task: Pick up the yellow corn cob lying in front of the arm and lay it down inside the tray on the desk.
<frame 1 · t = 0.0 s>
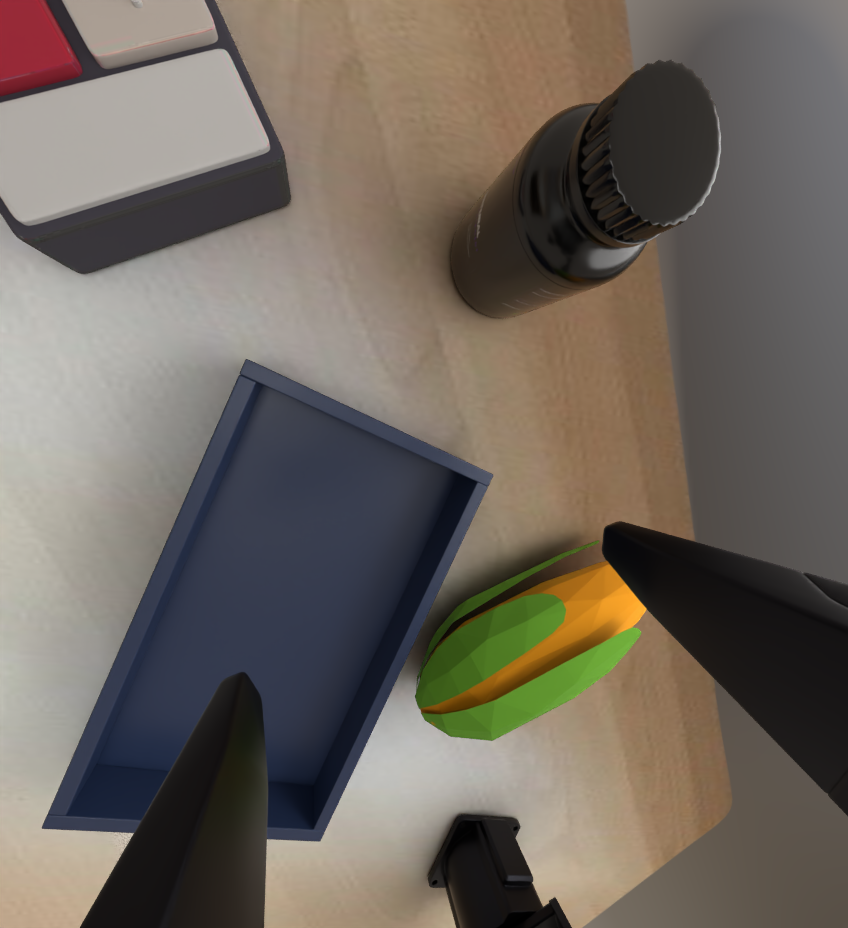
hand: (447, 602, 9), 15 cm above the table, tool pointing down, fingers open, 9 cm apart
supplement bottle: (495, 266, 23), on the table
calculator: (100, 68, 17), on the table
tray: (292, 602, 23), on the table
corn: (518, 597, 29), on the table
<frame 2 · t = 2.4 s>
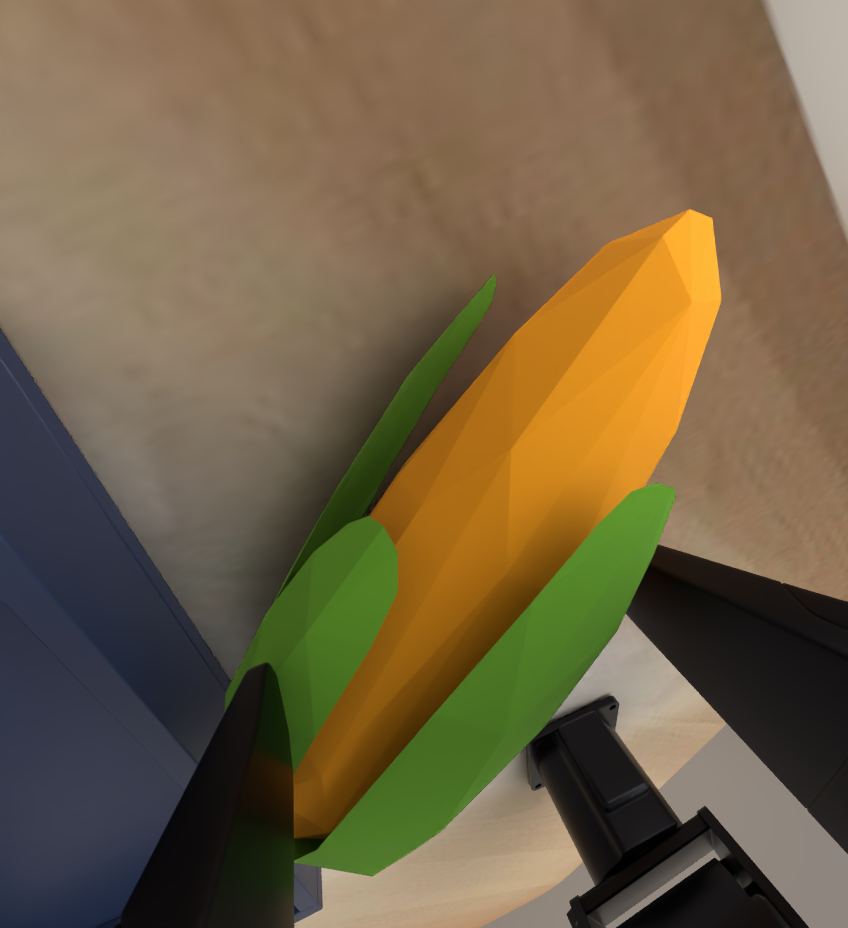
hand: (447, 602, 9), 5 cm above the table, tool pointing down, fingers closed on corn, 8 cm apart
corn: (419, 496, 13), on the table, touching gripper
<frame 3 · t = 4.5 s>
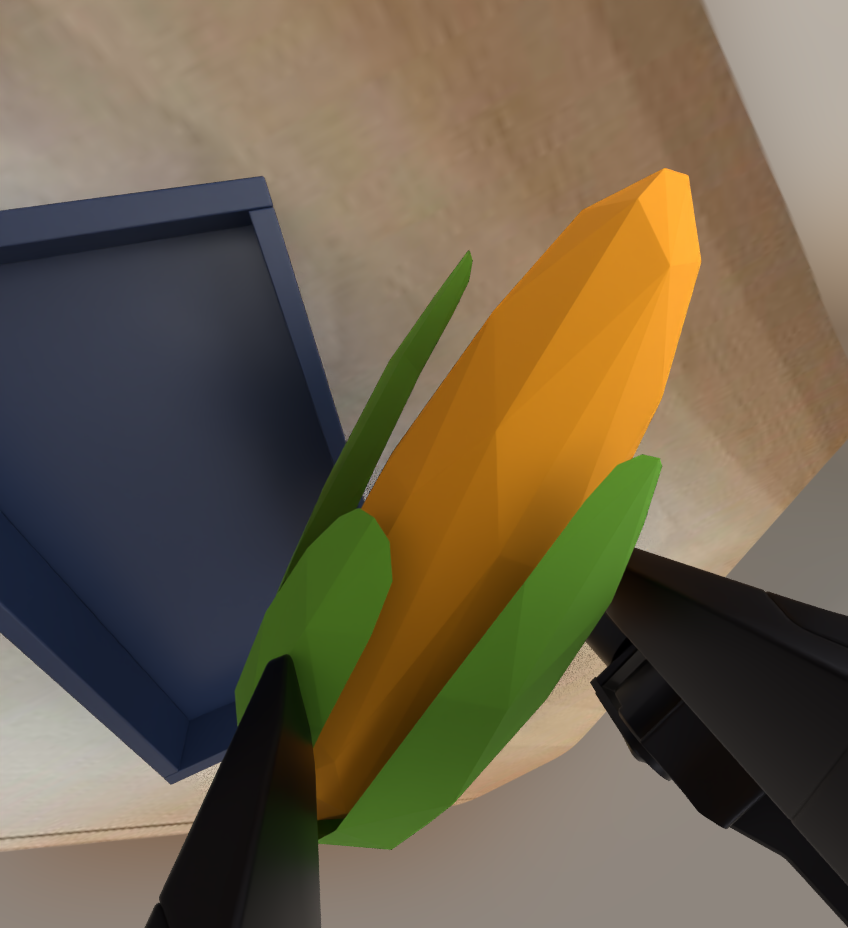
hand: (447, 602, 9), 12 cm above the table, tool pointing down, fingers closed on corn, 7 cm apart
tray: (216, 524, 19), on the table
corn: (411, 482, 13), point 7 cm above the table, touching gripper
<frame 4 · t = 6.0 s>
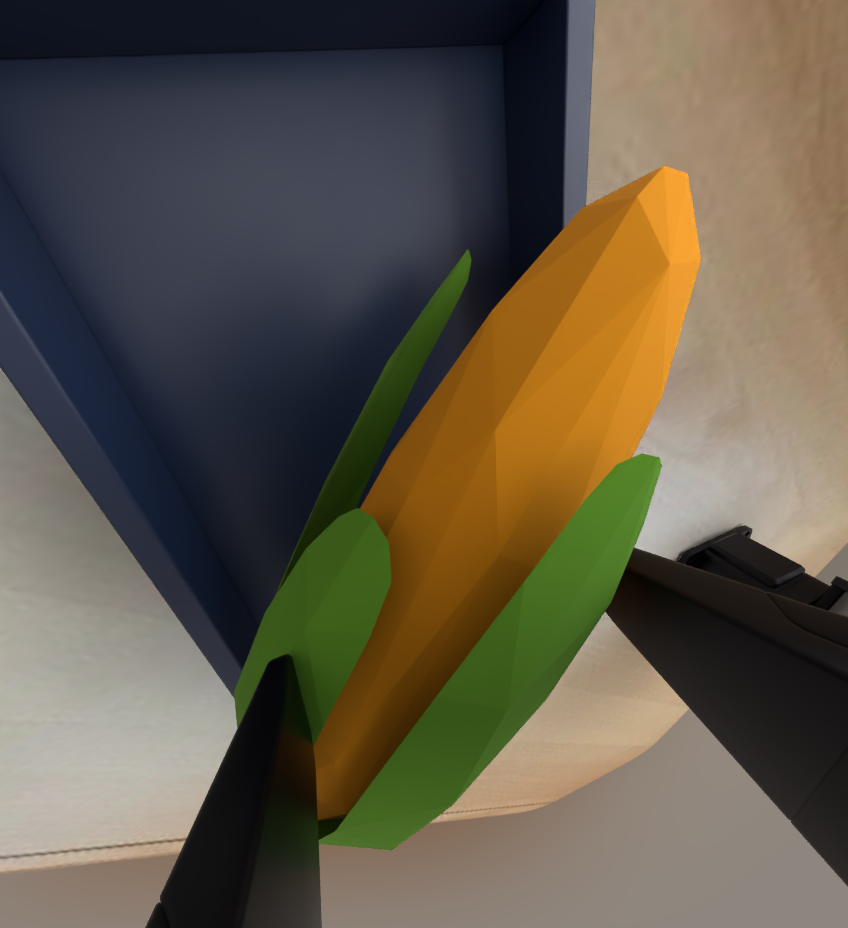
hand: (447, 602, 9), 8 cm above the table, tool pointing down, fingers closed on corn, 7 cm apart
tray: (371, 466, 15), on the table
corn: (411, 482, 13), point 2 cm above the table, touching gripper
when the fingers open (6 cm above the table, at t = 6.9 s): corn stays where it is, resting on tray.
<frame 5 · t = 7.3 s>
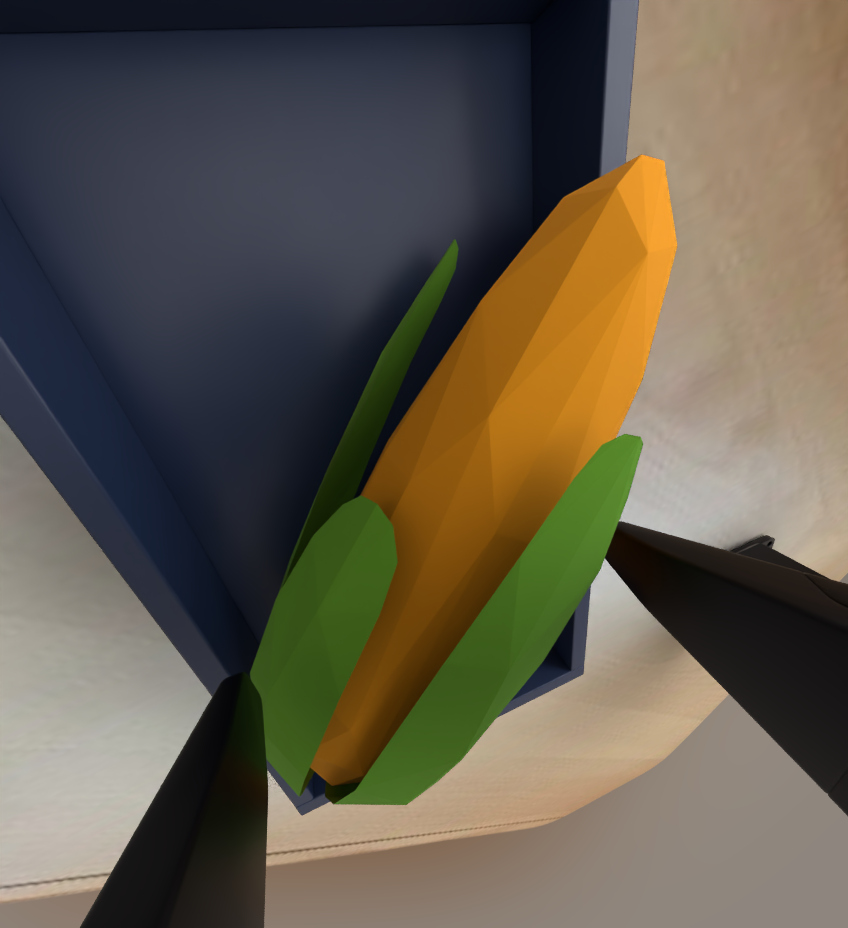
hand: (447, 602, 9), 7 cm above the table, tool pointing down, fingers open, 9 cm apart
tray: (382, 478, 14), on the table
corn: (406, 468, 14), point 1 cm above the table, touching tray
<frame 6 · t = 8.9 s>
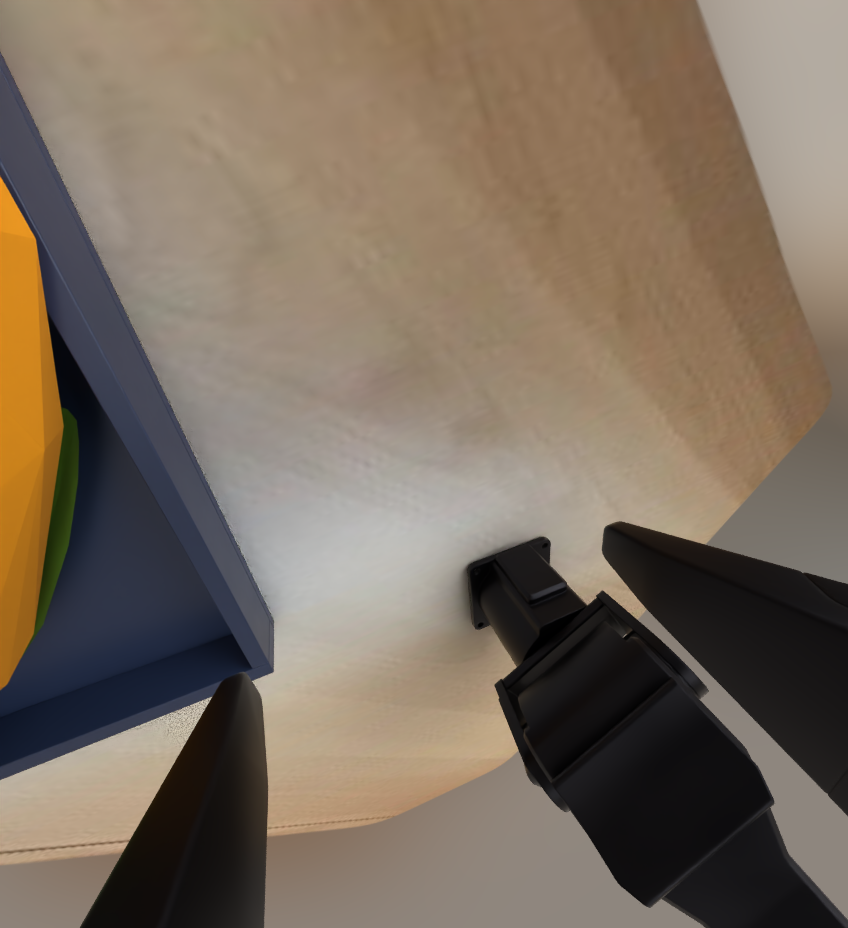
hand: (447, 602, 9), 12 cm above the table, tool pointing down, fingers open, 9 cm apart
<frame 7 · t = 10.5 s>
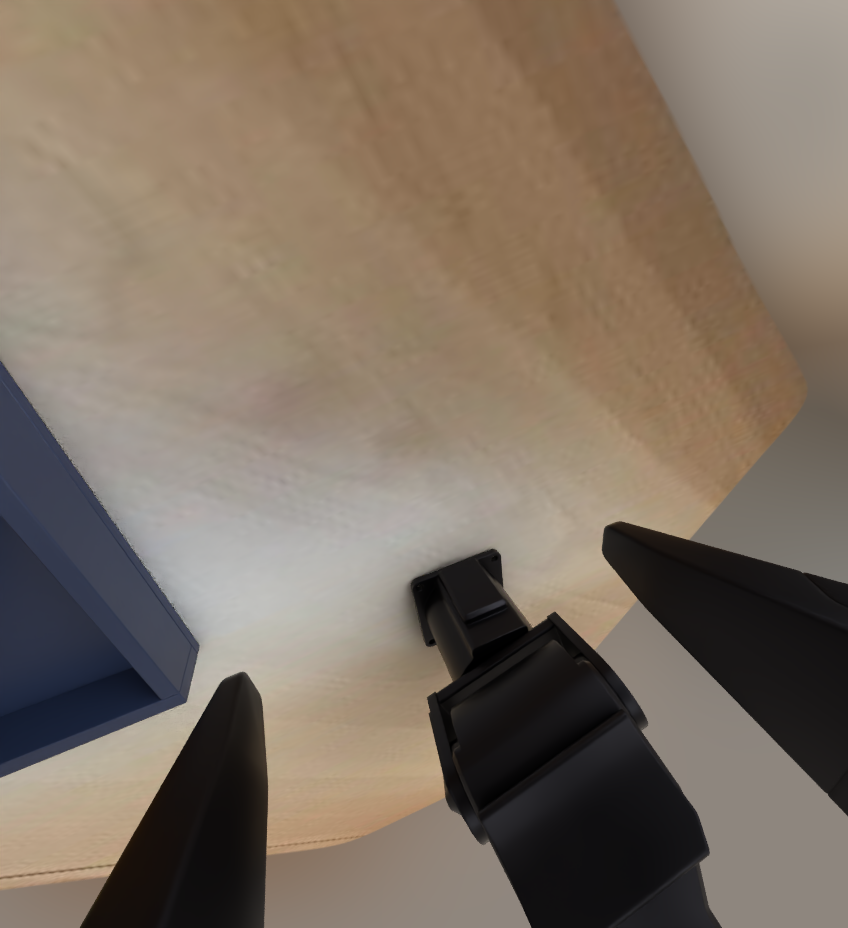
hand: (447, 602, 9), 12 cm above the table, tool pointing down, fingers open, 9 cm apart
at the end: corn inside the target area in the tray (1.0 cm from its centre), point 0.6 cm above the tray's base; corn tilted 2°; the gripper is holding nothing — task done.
